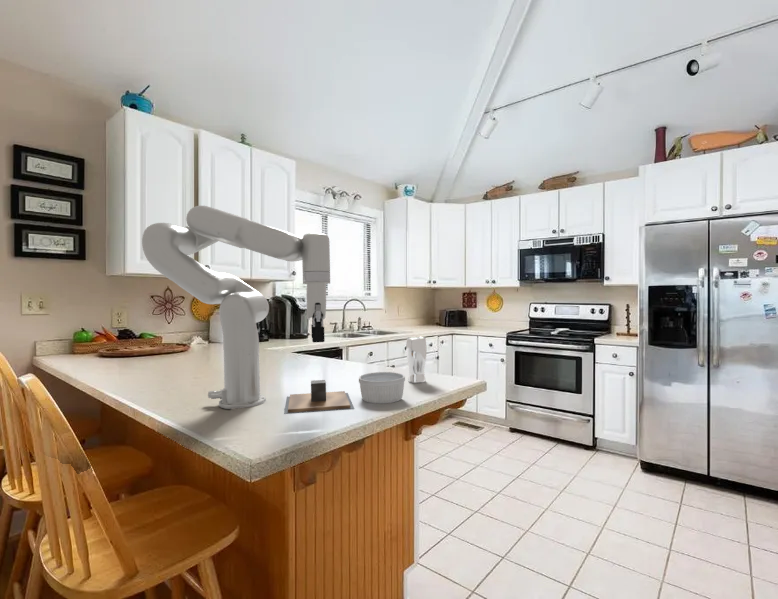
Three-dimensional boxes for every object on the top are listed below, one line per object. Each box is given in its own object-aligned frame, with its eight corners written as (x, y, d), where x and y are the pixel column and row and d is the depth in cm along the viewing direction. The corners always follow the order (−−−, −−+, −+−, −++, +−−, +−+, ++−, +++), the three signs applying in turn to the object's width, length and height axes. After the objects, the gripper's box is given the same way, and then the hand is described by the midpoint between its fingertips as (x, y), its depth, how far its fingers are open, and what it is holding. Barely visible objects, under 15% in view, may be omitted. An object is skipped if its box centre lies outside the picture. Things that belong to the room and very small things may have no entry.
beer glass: (427, 383, 141) (427, 338, 141) (406, 383, 141) (406, 339, 141) (426, 379, 148) (425, 336, 148) (406, 379, 148) (405, 336, 148)
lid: (288, 412, 108) (287, 390, 108) (290, 397, 124) (289, 377, 123) (350, 408, 111) (349, 386, 111) (344, 393, 127) (344, 374, 127)
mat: (283, 415, 107) (283, 413, 107) (286, 398, 124) (286, 396, 124) (354, 410, 110) (354, 408, 110) (347, 394, 128) (347, 392, 128)
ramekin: (367, 408, 112) (366, 382, 112) (353, 397, 125) (353, 374, 124) (412, 403, 117) (412, 378, 117) (394, 392, 129) (394, 370, 129)
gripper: (302, 279, 124) (304, 337, 125) (302, 277, 107) (304, 344, 108) (328, 279, 126) (329, 336, 126) (332, 277, 109) (333, 343, 109)
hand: (317, 340), depth 117 cm, fingers open, 9 cm apart
